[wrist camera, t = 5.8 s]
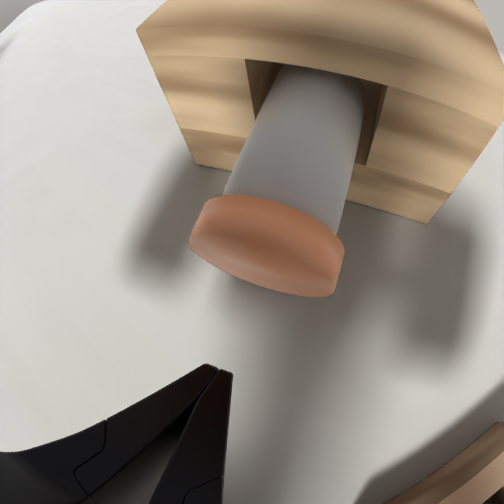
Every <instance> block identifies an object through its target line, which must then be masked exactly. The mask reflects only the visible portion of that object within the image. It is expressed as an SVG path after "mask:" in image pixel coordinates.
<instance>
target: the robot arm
mask: <svg viewBox="0 0 504 504" xmlns="http://www.w3.org/2000/svg"><path fill="white" fill-rule="evenodd" d="M232 382H233V374H232V373H231V372H228V371H226V370H223V369H218V368H217V367H215V366H212V365H210V364H203V365H201V366H200V367H198V368H196V369H195V370H193V371H191V372H190V373H188V374H186V375H184V376H183V377H181V378H179V379H178V380H176V381H174V382H172V383H171V384H169V385H167V386H166V387H164V388H162V389H160V390H158V391H157V392H155V393H153V394H151V395H150V396H148V397H146V398H144V399H142V400H141V401H139V402H137V403H135V404H133V405H131V406H130V407H128V408H126V409H124V410H122V411H120V412H118V413H117V414H115V415H113V416H111V417H109V418H107V421H106V420H103V421H101V422H99V423H97V424H95V425H93V426H91V427H89V428H87V429H85V430H83V431H80V432H78V433H76V434H73V435H70V436H68V437H65V438H62V439H59V440H56V441H53V442H50V443H47V444H44V445H41V446H38V447H34V448H31V449H28V450H24V451H18V452H0V504H148V502H149V501H150V502H149V504H223V486H224V472H225V461H226V449H227V438H228V426H229V415H230V404H231V393H232Z"/></svg>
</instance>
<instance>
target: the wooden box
mask: <svg viewBox="0 0 504 504" xmlns="http://www.w3.org/2000/svg"><path fill="white" fill-rule="evenodd" d="M136 32H137V34H138V36H139V38H140V41H141V43H142V45H143V48H144V50H145V52H146V54H147V57H148V59H149V61H150V63H151V66H152V68H153V70H154V72H155V75H156V77H157V79H158V81H159V84H160V86H161V88H162V90H163V93H164V95H165V97H166V99H167V101H168V104H169V106H170V108H171V110H172V113H173V115H174V117H175V119H176V121H177V124H178V126H179V128H180V130H181V132H182V135H183V137H184V139H185V141H186V143H187V146H188V148H189V150H190V152H191V154H192V157H193V159H194V161H195V163H196V164H198V165H203V166H208V167H213V168H218V169H223V170H227V171H232V170H233V168H234V166H235V164H236V161H237V159H238V157H239V155H240V153H241V150H242V148H243V146H244V144H245V142H246V139H247V137H248V135H249V133H250V131H251V129H252V126H253V124H254V122H255V120H256V118H257V116H258V114H259V112H260V110H261V107H262V105H263V103H264V101H265V99H266V97H267V95H268V93H269V91H270V89H271V87H272V85H273V83H274V81H275V79H276V76H277V74H278V72H279V71H280V69H281V68H282V67H283V66H284V65H285V64H291V65H297V66H303V67H309V68H315V69H320V70H325V71H330V72H335V73H340V74H344V75H349V76H353V77H357V78H359V79H360V81H361V82H362V84H363V86H364V88H365V92H366V106H365V112H364V117H363V122H362V127H361V132H360V137H359V142H358V147H357V152H356V157H355V161H354V166H353V170H352V175H351V179H350V184H349V188H348V192H347V196H346V200H349V201H352V202H356V203H359V204H363V205H366V206H369V207H373V208H376V209H380V210H383V211H386V212H389V213H393V214H396V215H399V216H402V217H405V218H409V219H412V220H415V221H418V222H421V223H424V224H427V223H428V222H429V221H430V220H431V218H432V217H433V216H434V215H435V213H436V212H437V211H438V210H439V208H440V207H441V206H442V205H443V203H444V202H445V201H446V200H447V198H448V197H449V196H450V194H451V193H452V192H453V191H454V189H455V188H456V187H457V185H458V184H459V183H460V181H461V180H462V179H463V177H464V176H465V175H466V173H467V172H468V171H469V169H470V168H471V166H472V165H473V164H474V162H475V161H476V159H477V158H478V157H479V155H480V154H481V152H482V151H483V149H484V148H485V147H486V145H487V144H488V142H489V141H490V139H491V138H492V136H493V135H494V133H495V132H496V130H497V129H498V127H499V126H500V124H501V122H502V121H503V119H504V65H503V63H502V60H501V58H500V55H499V53H498V50H497V48H496V45H495V43H494V41H493V38H492V36H491V34H490V32H489V30H488V27H487V25H486V23H485V21H484V19H483V17H482V15H481V13H480V11H479V9H478V7H477V5H476V3H475V1H474V0H167V1H166V2H165V3H164V4H163V5H161V6H160V7H159V8H158V9H157V10H156V11H155V12H154V13H153V14H151V15H150V16H149V17H148V18H147V19H146V20H145V21H144V22H143V23H142V24H141V25H140V26H139V27H138V28H137V29H136Z"/></svg>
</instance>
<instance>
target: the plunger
mask: <svg viewBox="0 0 504 504" xmlns="http://www.w3.org/2000/svg"><path fill="white" fill-rule="evenodd" d="M365 106H366V92H365V88H364V86H363V84H362V82H361V81H360V79H359V78H357V77H353V76H349V75H344V74H340V73H335V72H330V71H325V70H320V69H315V68H309V67H303V66H297V65H291V64H285V65H284V66H283V67H282V68H281V69H280V71H279V72H278V74H277V76H276V79H275V81H274V83H273V85H272V87H271V89H270V91H269V93H268V95H267V97H266V99H265V101H264V103H263V105H262V107H261V110H260V112H259V114H258V116H257V118H256V120H255V122H254V124H253V126H252V129H251V131H250V133H249V135H248V137H247V139H246V142H245V144H244V146H243V148H242V150H241V153H240V155H239V157H238V159H237V161H236V164H235V166H234V168H233V170H232V173H231V175H230V177H229V179H228V182H227V184H226V186H225V188H224V191H223V193H222V195H221V196H217V197H214V198H211V199H209V200H208V201H206V202H205V204H204V205H203V208H202V210H201V212H200V214H199V217H198V219H197V221H196V224H195V226H194V228H193V230H192V233H191V235H190V237H189V240H188V243H189V246H190V247H191V249H192V250H193V251H194V252H195V253H196V254H197V255H198V256H200V257H201V258H202V259H204V260H205V261H207V262H208V263H210V264H211V265H213V266H215V267H217V268H219V269H220V270H222V271H224V272H226V273H228V274H231V275H233V276H235V277H237V278H240V279H242V280H245V281H247V282H250V283H253V284H255V285H258V286H261V287H265V288H268V289H271V290H275V291H279V292H283V293H287V294H292V295H297V296H305V297H326V296H329V295H331V294H333V293H334V292H335V288H336V285H337V281H338V277H339V274H340V270H341V266H342V262H343V258H344V254H345V248H344V246H343V244H342V242H341V241H340V239H339V238H338V237H337V232H338V229H339V225H340V221H341V217H342V213H343V209H344V205H345V200H346V196H347V192H348V188H349V184H350V179H351V175H352V170H353V166H354V161H355V157H356V152H357V147H358V142H359V137H360V132H361V127H362V122H363V117H364V112H365Z"/></svg>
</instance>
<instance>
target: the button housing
mask: <svg viewBox="0 0 504 504" xmlns="http://www.w3.org/2000/svg"><path fill="white" fill-rule="evenodd" d="M488 498H490V500H491V503H492V504H504V423H500V422H496V423H495V424H494V425H493V426H492V427H491V428H490V429H489V430H487V431H486V432H485V433H484V434H483V435H482V436H481V437H479V438H478V439H477V440H476V441H475V442H473V443H472V444H471V445H470V446H469V447H467V448H466V449H465V450H464V451H462V452H461V453H460V454H458V455H457V456H456V457H455V458H453V459H452V460H451V461H449V462H448V463H447V464H445V465H444V466H442V467H441V468H440V469H438V470H437V471H435V472H434V473H432V474H431V475H429V476H428V477H427V478H425V479H424V480H422V481H420V482H419V483H417V484H416V485H414V486H413V487H411V488H409V489H408V490H406V491H405V492H403V493H401V494H400V495H398V496H396V497H394V498H393V499H391V500H389V501H387V502H386V503H384V504H482V503H484V502H485V501H486V500H487V499H488Z"/></svg>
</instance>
